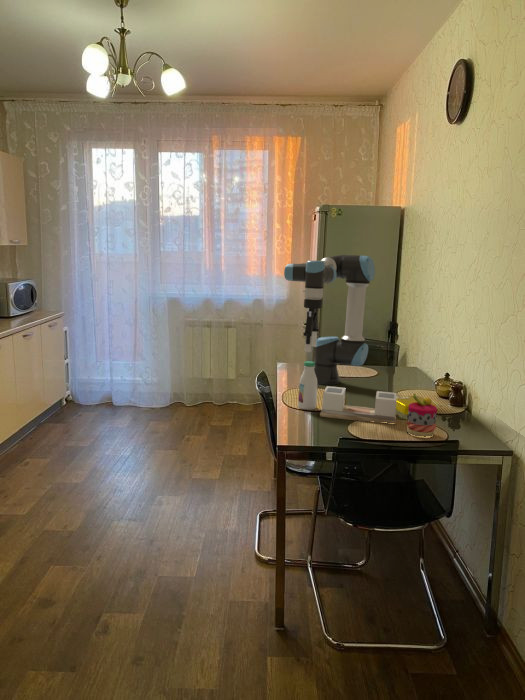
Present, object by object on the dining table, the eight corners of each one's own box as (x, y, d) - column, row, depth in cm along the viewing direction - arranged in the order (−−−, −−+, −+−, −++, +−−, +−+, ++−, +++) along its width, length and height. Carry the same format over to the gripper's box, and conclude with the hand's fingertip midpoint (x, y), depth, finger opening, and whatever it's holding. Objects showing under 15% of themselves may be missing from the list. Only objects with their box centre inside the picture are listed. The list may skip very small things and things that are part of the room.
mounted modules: (325, 404, 228) (326, 385, 226) (394, 411, 221) (396, 392, 220) (321, 412, 216) (323, 392, 215) (394, 420, 210) (396, 400, 208)
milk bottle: (317, 406, 230) (320, 361, 226) (314, 411, 222) (317, 364, 219) (300, 404, 232) (302, 359, 228) (296, 408, 224) (298, 362, 221)
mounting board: (324, 406, 230) (325, 400, 229) (395, 414, 223) (396, 407, 222) (319, 416, 215) (320, 410, 215) (395, 424, 208) (396, 418, 208)
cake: (429, 429, 205) (433, 392, 202) (439, 439, 194) (443, 399, 191) (402, 428, 204) (405, 391, 201) (410, 438, 194) (414, 399, 191)
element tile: (405, 416, 222) (406, 405, 221) (388, 405, 236) (389, 395, 235) (436, 414, 226) (438, 403, 225) (417, 404, 240) (418, 394, 239)
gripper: (309, 295, 231) (306, 343, 235) (299, 300, 207) (296, 353, 211) (326, 296, 229) (323, 345, 233) (318, 301, 205) (314, 355, 209)
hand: (310, 349), depth 222 cm, fingers open, 13 cm apart
